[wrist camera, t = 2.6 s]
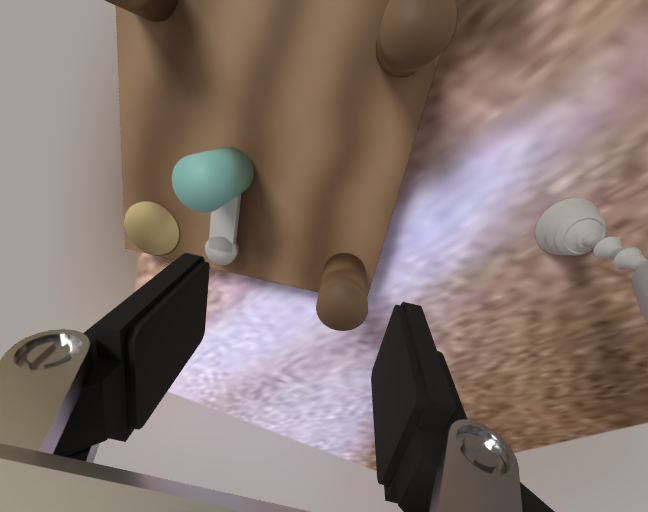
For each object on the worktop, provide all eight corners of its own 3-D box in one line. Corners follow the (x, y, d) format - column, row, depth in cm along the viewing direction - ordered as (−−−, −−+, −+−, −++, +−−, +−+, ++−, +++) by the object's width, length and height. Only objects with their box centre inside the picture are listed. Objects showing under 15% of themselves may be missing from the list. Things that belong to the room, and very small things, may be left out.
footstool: (443, 20, 23) (489, -29, 15) (364, 289, 32) (367, 345, 24) (136, -50, 23) (25, -134, 15) (141, 238, 32) (72, 278, 24)
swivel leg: (256, 152, 25) (231, 161, 20) (242, 265, 29) (218, 297, 24) (209, 141, 25) (172, 148, 20) (202, 256, 29) (169, 286, 24)
